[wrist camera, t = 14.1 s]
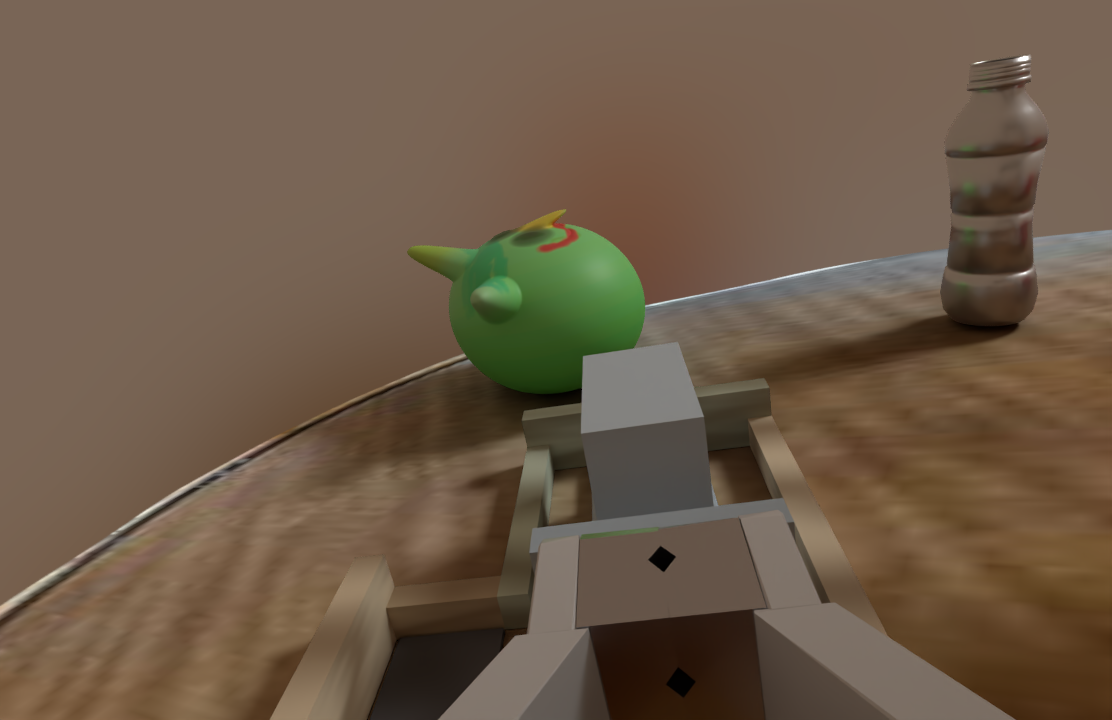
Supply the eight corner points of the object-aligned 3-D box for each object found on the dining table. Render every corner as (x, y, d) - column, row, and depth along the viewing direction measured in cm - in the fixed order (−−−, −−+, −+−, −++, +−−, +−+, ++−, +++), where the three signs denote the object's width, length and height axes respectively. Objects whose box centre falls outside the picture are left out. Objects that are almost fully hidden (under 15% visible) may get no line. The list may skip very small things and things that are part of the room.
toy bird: (694, 376, 55) (673, 198, 50) (515, 455, 48) (470, 257, 43) (579, 333, 70) (554, 193, 65) (431, 388, 63) (390, 236, 58)
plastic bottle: (1003, 342, 51) (1023, 59, 43) (921, 324, 56) (926, 72, 49) (1053, 317, 53) (1079, 45, 46) (969, 303, 59) (981, 59, 52)
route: (1247, 1405, 12) (1299, 1312, 10) (69, 1351, 14) (-22, 1273, 13) (768, 432, 45) (763, 377, 43) (439, 473, 47) (425, 424, 46)
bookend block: (804, 688, 26) (791, 473, 23) (566, 710, 27) (518, 507, 24) (721, 458, 43) (706, 313, 40) (575, 477, 44) (548, 337, 41)
